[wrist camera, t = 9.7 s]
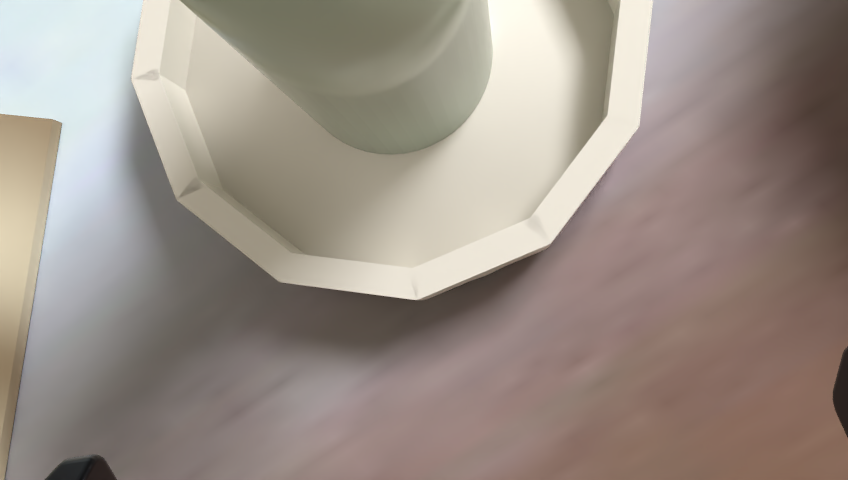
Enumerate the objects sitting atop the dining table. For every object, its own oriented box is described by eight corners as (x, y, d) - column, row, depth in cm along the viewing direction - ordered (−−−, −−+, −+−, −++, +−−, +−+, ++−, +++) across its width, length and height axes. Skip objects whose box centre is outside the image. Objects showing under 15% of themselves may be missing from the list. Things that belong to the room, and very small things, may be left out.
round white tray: (606, 323, 18) (617, 326, 16) (145, 263, 20) (102, 259, 18) (658, -151, 19) (675, -203, 17) (210, -170, 20) (177, -220, 18)
